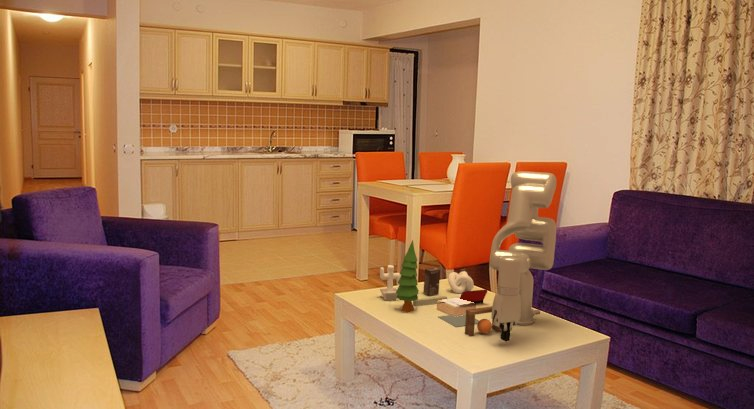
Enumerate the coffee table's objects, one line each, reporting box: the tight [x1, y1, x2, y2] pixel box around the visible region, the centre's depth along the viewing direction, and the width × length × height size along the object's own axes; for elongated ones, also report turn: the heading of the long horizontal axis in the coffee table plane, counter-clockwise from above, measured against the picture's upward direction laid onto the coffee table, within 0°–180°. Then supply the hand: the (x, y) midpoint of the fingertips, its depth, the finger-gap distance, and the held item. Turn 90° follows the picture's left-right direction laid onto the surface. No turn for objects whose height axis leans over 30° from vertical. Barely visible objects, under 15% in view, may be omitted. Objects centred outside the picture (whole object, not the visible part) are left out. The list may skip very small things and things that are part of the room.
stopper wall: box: [412, 295, 448, 308], centre depth 262 cm, size 16×2×2 cm, turn 117°
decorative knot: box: [447, 270, 475, 294], centre depth 282 cm, size 11×12×9 cm
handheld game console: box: [459, 289, 488, 305], centre depth 265 cm, size 12×11×7 cm
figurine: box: [379, 264, 401, 301], centre depth 267 cm, size 7×9×15 cm
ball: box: [476, 318, 492, 335], centre depth 227 cm, size 6×6×6 cm
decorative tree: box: [396, 239, 419, 313], centre depth 250 cm, size 10×9×30 cm
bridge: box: [464, 305, 501, 337], centre depth 228 cm, size 3×14×9 cm, turn 117°
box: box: [422, 267, 441, 297], centre depth 275 cm, size 6×4×12 cm
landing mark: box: [437, 314, 480, 328], centre depth 242 cm, size 13×13×1 cm
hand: (505, 340), depth 217 cm, fingers closed
